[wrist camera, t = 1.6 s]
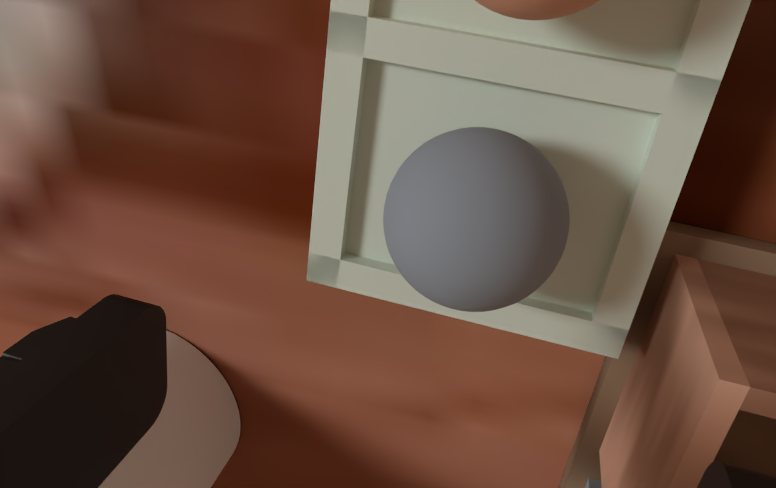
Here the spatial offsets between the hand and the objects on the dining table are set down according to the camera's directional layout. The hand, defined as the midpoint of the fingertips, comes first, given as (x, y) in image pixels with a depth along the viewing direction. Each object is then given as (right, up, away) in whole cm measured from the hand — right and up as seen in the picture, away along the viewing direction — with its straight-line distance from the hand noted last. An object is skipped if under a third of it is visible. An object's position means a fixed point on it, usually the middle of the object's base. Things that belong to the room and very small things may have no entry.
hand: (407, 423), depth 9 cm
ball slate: (+2, +4, +8) cm, 10 cm away
